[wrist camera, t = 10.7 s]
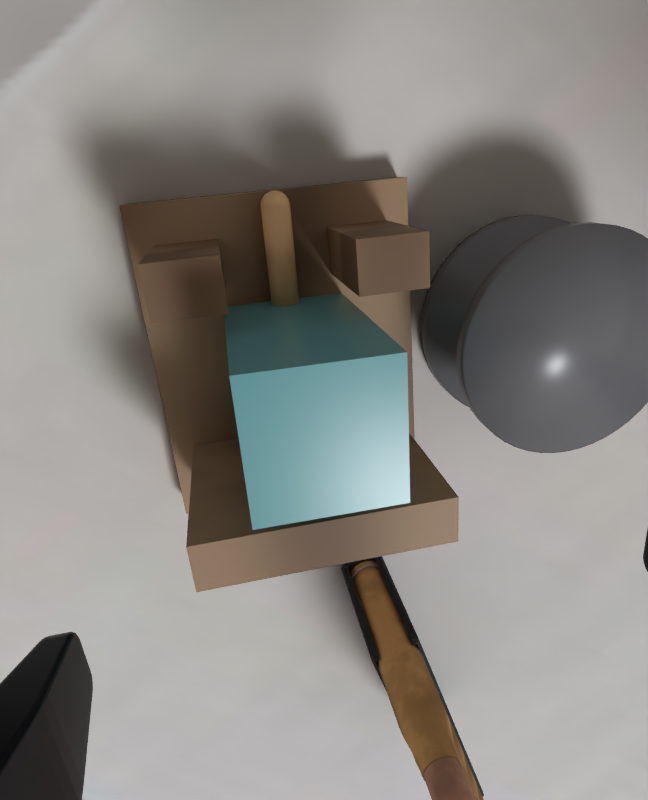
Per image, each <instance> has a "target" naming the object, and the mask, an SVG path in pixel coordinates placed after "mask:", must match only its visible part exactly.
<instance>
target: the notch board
mask: <svg viewBox="0 0 648 800" xmlns="http://www.w3.org/2000/svg"><path fill="white" fill-rule="evenodd" d="M270 191H280V192H282V193H284V194H285V195H286V196H287V198H288V199H289V202H290V209H291V219H292V230H293V240H294V251H295V262H296V272H297V283H298V293H299V298H302V297H311V296H320V295H328V294H337V293H342V294H343V295H344V296H346V297H347V298H348V299H349V300H350V301H351V302H352V303H353V304H354V305H356V306H357V307H358V308H359V309H360V310H361V311H362V312H363V313H364V314H366V315H367V316H368V317H369V318H370V319H371V320H372V321H373V322H374V323H375V324H377V325H378V326H379V327H380V328H381V329H382V330H383V331H384V332H385V333H387V334H388V335H389V336H390V337H391V338H392V339H393V340H394V341H395V342H396V343H398V344H399V345H400V346H401V347H402V348H403V349H404V350H405V351H406V352H407V364H408V413H409V463H410V503H406V504H400V505H395V506H389V507H383V508H377V509H371V510H366V511H360V512H354V513H348V514H343V515H337V516H331V517H325V518H319V519H314V520H308V521H302V522H296V523H291V524H285V525H279V526H273V527H267V528H262V529H256V530H253V529H252V523H251V516H250V510H249V503H248V496H247V490H246V483H245V477H244V470H243V463H242V457H241V450H240V443H239V437H238V430H237V424H236V417H235V410H234V404H233V397H232V391H231V384H230V377H229V367H228V355H227V343H226V331H225V320H224V314H229V310H228V306H233V305H242V304H251V303H259V302H268V301H271V294H270V285H269V276H268V267H267V259H266V250H265V241H264V232H263V223H262V215H261V201H262V198H263V197H264V195H265V194H266V193H268V192H270ZM120 211H121V215H122V220H123V224H124V229H125V234H126V238H127V243H128V247H129V252H130V257H131V261H132V266H133V270H134V275H135V280H136V284H137V289H138V293H139V298H140V303H141V307H142V312H143V316H144V321H145V326H146V330H147V335H148V340H149V344H150V349H151V353H152V358H153V363H154V367H155V372H156V376H157V381H158V386H159V390H160V395H161V399H162V404H163V409H164V413H165V418H166V422H167V427H168V432H169V436H170V441H171V445H172V450H173V455H174V459H175V464H176V469H177V473H178V478H179V482H180V487H181V492H182V496H183V501H184V505H185V510H186V514H187V513H189V517H188V532H187V546H186V547H187V552H188V556H189V561H190V565H191V570H192V574H193V579H194V583H195V588H196V592H200V591H205V590H210V589H215V588H220V587H225V586H231V585H236V584H241V583H246V582H251V581H256V580H261V579H267V578H272V577H277V576H282V575H287V574H292V573H297V572H303V571H308V570H313V569H318V568H323V567H328V566H333V565H338V564H344V563H349V562H354V561H359V560H364V559H369V558H374V557H380V556H385V555H390V554H395V553H400V552H405V551H410V550H416V549H421V548H426V547H431V546H436V545H441V544H446V543H452V542H457V541H458V496H457V495H456V493H455V492H454V491H453V489H452V488H451V487H450V485H449V484H448V483H447V482H446V480H445V479H444V478H443V476H442V475H441V474H440V472H439V471H438V470H437V468H436V467H435V466H434V465H433V463H432V462H431V461H430V459H429V458H428V457H427V455H426V454H425V453H424V452H423V450H422V449H421V448H420V446H419V445H418V444H417V442H416V441H415V440H414V410H413V374H412V338H411V302H410V290H417V289H425V288H430V232H429V231H427V230H423V229H419V228H415V227H411V226H408V193H407V177H395V178H385V179H375V180H365V181H354V182H344V183H334V184H324V185H314V186H304V187H294V188H284V189H274V190H264V191H254V192H244V193H234V194H224V195H214V196H204V197H194V198H184V199H174V200H164V201H154V202H144V203H133V204H124V205H121V206H120Z"/></svg>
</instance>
